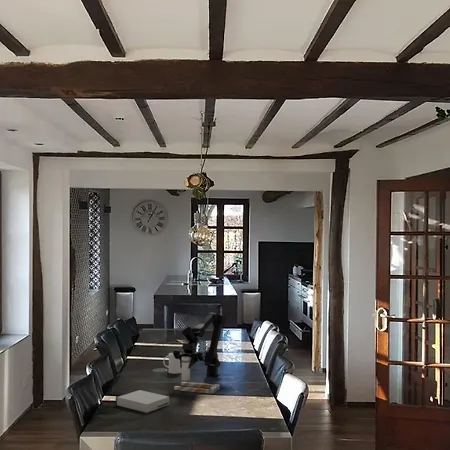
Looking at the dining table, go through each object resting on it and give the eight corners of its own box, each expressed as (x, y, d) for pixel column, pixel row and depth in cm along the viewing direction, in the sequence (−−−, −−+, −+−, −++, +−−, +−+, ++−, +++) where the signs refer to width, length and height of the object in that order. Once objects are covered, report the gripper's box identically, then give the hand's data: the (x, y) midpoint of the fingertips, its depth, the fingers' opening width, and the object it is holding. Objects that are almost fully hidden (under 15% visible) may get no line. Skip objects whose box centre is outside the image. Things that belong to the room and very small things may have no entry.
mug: (162, 373, 381) (162, 354, 381) (164, 370, 390) (164, 352, 390) (180, 373, 380) (180, 355, 380) (182, 370, 389) (182, 352, 389)
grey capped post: (186, 377, 350) (186, 356, 350) (191, 379, 346) (191, 357, 346) (179, 379, 347) (179, 357, 347) (184, 381, 343) (184, 358, 343)
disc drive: (138, 398, 328) (138, 389, 328) (169, 405, 315) (169, 395, 315) (115, 405, 314) (115, 396, 314) (146, 413, 301) (146, 403, 301)
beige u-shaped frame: (174, 390, 343) (174, 385, 343) (181, 385, 353) (181, 380, 353) (213, 393, 335) (213, 389, 335) (219, 388, 346) (219, 384, 346)
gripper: (173, 336, 353) (166, 359, 343) (203, 338, 347) (196, 361, 337) (179, 347, 361) (171, 369, 350) (207, 349, 355) (201, 372, 344)
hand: (184, 367), depth 345 cm, fingers closed on grey capped post, 5 cm apart
